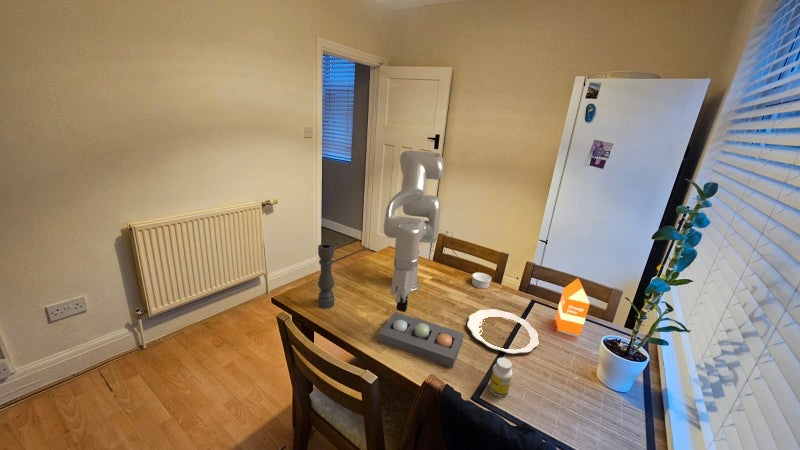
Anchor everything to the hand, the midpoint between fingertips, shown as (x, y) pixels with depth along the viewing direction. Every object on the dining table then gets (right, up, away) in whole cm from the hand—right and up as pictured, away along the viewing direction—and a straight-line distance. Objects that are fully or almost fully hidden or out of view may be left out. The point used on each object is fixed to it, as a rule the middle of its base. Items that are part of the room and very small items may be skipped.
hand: (401, 309), depth 108 cm
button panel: (+7, -11, 0) cm, 13 cm away
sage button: (+7, -8, -1) cm, 11 cm away
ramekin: (+38, 0, +42) cm, 56 cm away
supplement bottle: (+28, -19, -17) cm, 38 cm away
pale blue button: (-1, -8, +2) cm, 9 cm away
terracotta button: (+14, -11, -3) cm, 18 cm away
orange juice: (+64, -11, +13) cm, 66 cm away
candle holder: (-30, -3, +17) cm, 35 cm away
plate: (+37, -11, +8) cm, 39 cm away
